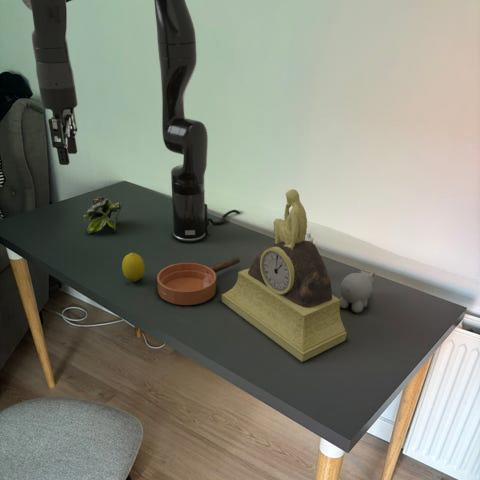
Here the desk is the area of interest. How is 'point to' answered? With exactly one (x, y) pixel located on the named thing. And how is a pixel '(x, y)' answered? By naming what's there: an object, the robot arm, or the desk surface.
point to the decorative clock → (290, 290)
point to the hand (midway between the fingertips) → (68, 158)
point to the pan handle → (225, 264)
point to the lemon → (133, 267)
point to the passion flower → (101, 214)
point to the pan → (186, 283)
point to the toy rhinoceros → (356, 290)
